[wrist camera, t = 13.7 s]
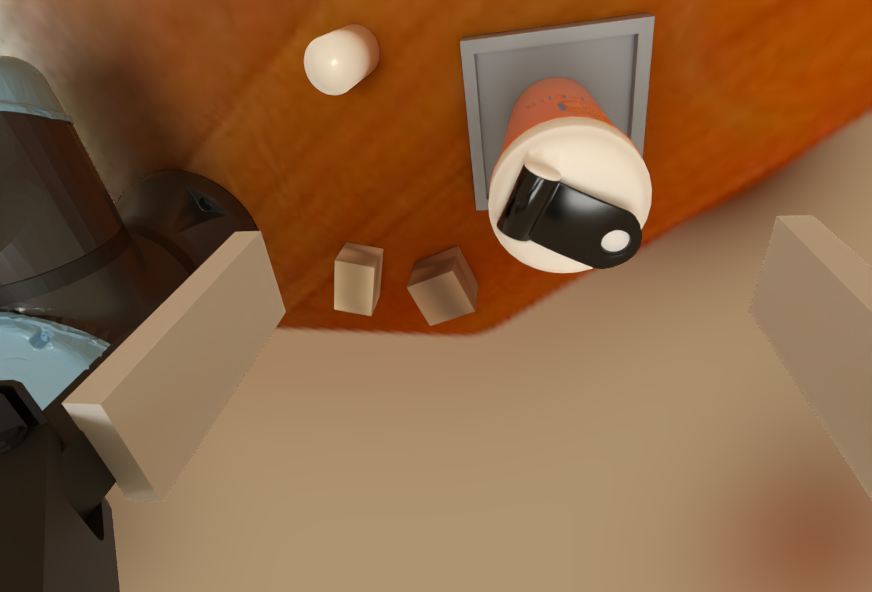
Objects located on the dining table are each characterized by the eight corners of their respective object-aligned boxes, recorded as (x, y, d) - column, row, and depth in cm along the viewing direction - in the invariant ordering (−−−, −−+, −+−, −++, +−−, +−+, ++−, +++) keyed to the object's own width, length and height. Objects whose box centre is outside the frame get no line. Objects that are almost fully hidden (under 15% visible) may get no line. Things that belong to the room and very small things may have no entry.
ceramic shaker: (339, 79, 44) (312, 98, 38) (328, 27, 42) (297, 39, 36) (383, 73, 43) (362, 92, 38) (374, 20, 41) (350, 32, 36)
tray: (478, 199, 49) (476, 210, 46) (462, 37, 41) (459, 41, 39) (633, 188, 46) (638, 200, 44) (647, 12, 38) (654, 16, 36)
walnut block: (437, 298, 56) (430, 326, 52) (415, 261, 53) (406, 287, 49) (478, 284, 54) (475, 311, 50) (458, 245, 52) (452, 270, 48)
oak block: (345, 288, 57) (334, 309, 53) (346, 241, 53) (334, 260, 50) (380, 295, 57) (371, 316, 53) (383, 248, 53) (374, 267, 50)
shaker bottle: (586, 182, 45) (623, 314, 29) (488, 161, 45) (468, 279, 29) (625, 77, 40) (697, 163, 24) (514, 53, 40) (508, 121, 24)
